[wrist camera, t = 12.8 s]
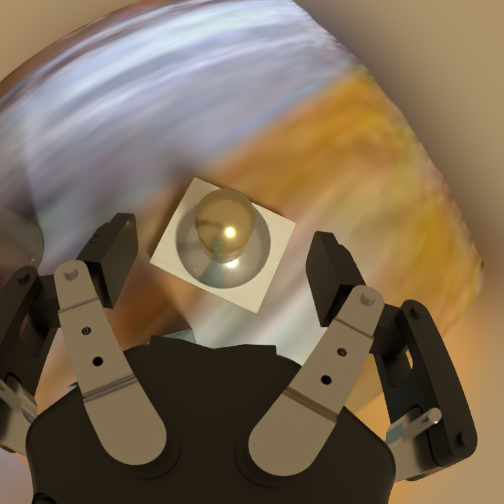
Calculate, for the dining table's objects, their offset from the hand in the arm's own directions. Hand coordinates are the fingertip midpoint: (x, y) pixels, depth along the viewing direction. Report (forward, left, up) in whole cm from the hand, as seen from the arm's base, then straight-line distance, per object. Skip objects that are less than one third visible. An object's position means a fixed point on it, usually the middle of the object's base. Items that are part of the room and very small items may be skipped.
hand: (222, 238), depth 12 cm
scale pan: (-1, +4, -21) cm, 21 cm away
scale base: (-1, +4, -24) cm, 24 cm away
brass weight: (-1, +4, -20) cm, 20 cm away
